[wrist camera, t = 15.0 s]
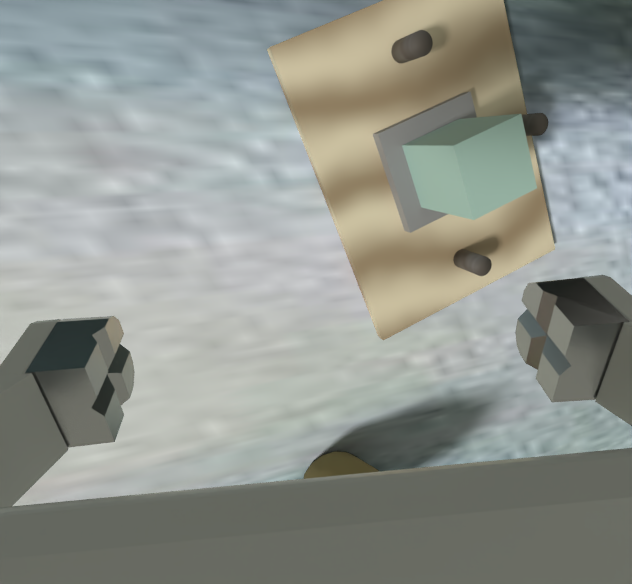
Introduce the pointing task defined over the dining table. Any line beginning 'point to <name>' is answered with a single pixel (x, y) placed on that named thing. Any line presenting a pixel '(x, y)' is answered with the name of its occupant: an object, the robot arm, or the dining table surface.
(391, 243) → the locating board
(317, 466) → the squeeze bottle
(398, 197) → the flange block
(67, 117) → the dining table surface
